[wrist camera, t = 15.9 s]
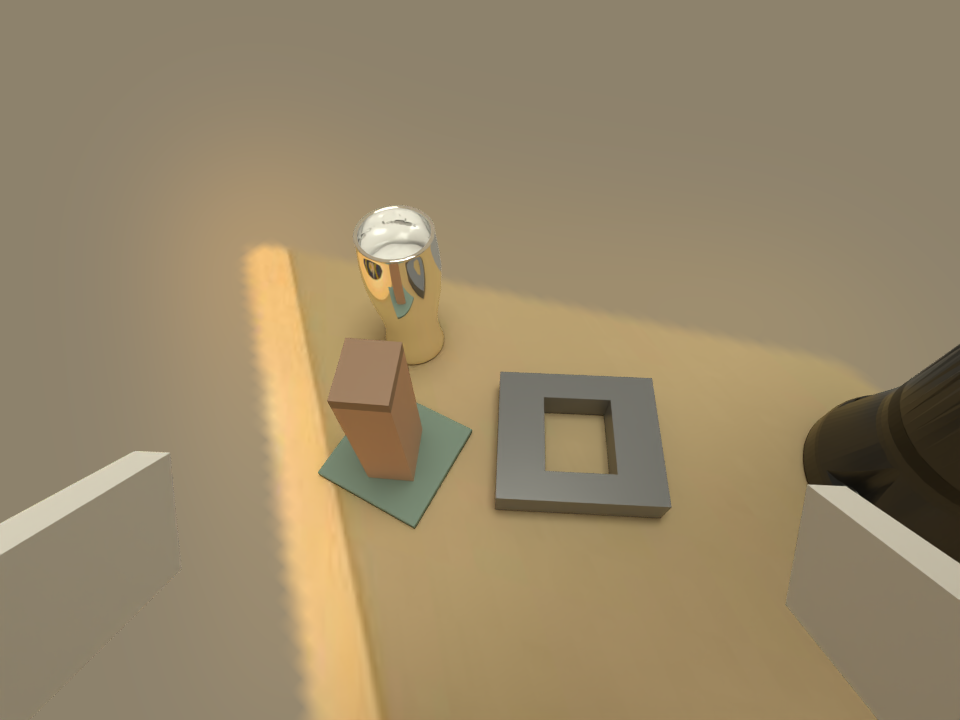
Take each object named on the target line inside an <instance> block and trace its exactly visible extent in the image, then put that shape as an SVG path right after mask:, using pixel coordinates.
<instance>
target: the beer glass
mask: <svg viewBox="0 0 960 720" xmlns="http://www.w3.org/2000/svg"><path fill="white" fill-rule="evenodd" d="M353 241H354V244H355V248H356V255H357V261H358V266H359V270H360V274H361V278H362V281H363V284H364V287H365V290H366V292H367V294H368V296H369V298H370V300H371V302H372V304H373V306H374V307H375V309H376V311H377V313H378V314H379V316H380V317H381V319H382V321H383V323H384V325H385V329H386V336H385V341H395V342H402V344H403V348H404V352H405V357H406V361H407V364H412V365H413V364H421V363H425V362H427V361H429V360H431V359H433V358H434V357H435V356H436V355H437V354H438V353H439V352H440V350H441V349H442V346H443V343H444V334H443V331H442V329H441V326H440V324H439V322H438V316H437V314H438V306H439V299H440V293H441V281H442V272H441V261H440V254H439V248H438V243H437V239H436V234H435V228H434V224H433V222H432V220H431V219H430V218H429V216H428V215H427V214H425V213H424V212H422V211H421V210H419V209H416V208H413V207H409V206H403V205H393V206H386V207H382V208H379V209H376V210H374V211H372V212H370V213H368V214H367V215H365V216H364V217H363V218H362V219H361V220H360V221H359V222H358V224H357V225H356V227H355V229H354V233H353Z"/></svg>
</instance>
